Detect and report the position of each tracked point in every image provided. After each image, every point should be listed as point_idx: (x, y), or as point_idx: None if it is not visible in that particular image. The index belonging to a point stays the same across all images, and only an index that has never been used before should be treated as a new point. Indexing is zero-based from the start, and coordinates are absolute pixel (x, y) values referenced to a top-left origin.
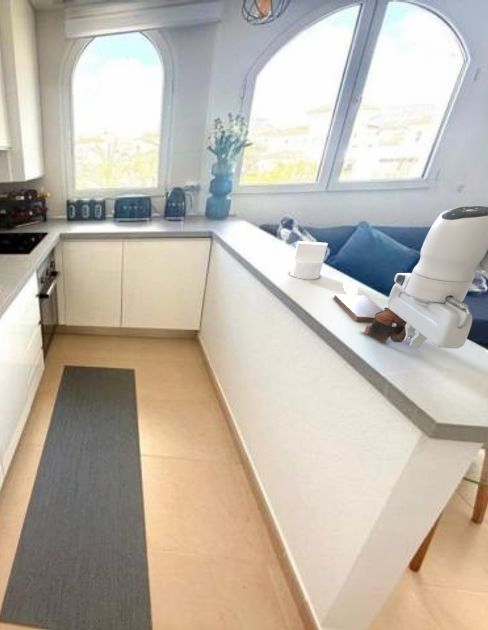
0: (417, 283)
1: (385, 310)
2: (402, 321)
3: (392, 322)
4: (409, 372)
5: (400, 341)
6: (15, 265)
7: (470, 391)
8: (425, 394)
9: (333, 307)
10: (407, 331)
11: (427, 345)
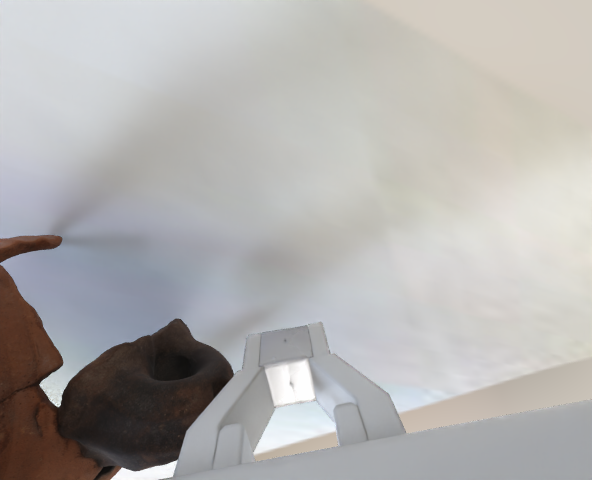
0: None
1: None
2: (69, 455)
3: (102, 476)
4: (443, 325)
5: (186, 327)
6: None
7: (571, 162)
8: (584, 317)
9: None
10: (258, 441)
11: (115, 177)
